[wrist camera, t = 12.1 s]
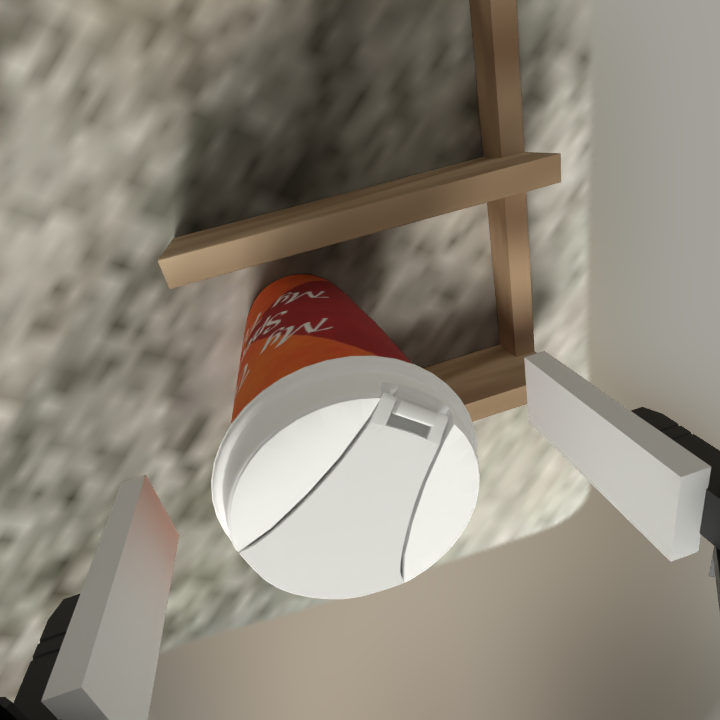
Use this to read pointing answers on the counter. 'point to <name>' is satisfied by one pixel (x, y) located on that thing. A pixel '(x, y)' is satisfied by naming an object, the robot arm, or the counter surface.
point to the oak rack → (418, 202)
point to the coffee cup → (339, 450)
